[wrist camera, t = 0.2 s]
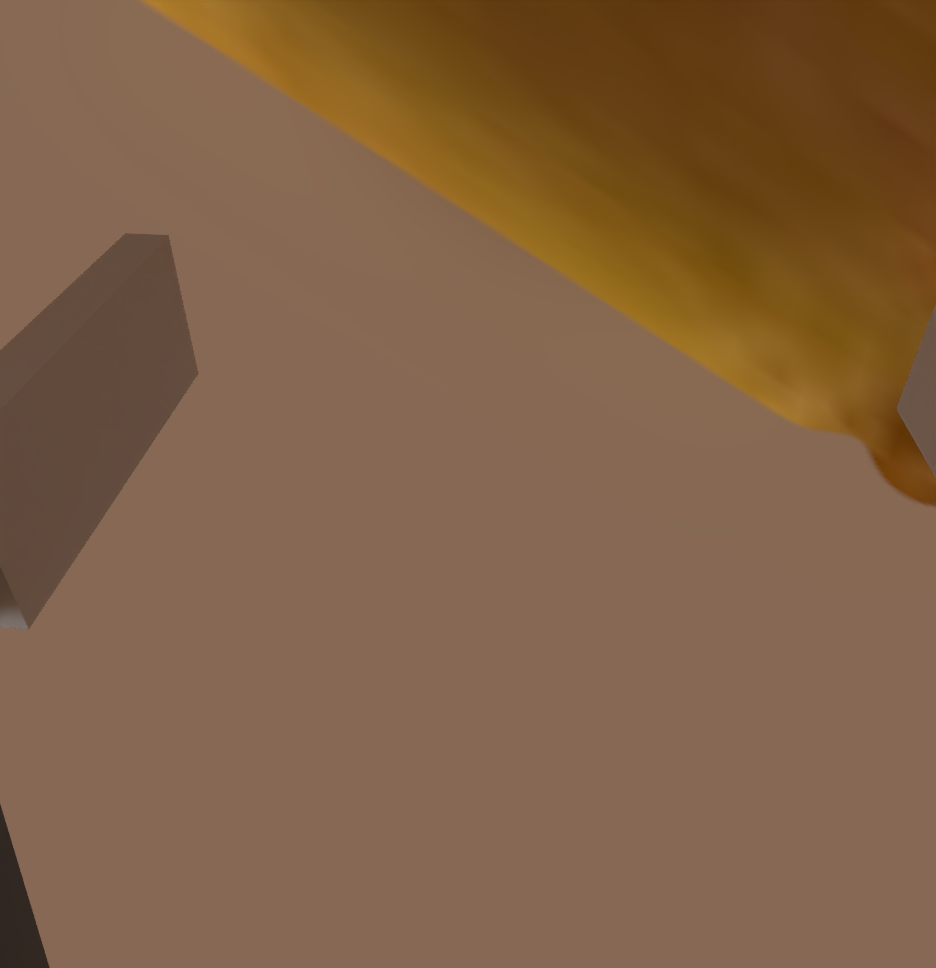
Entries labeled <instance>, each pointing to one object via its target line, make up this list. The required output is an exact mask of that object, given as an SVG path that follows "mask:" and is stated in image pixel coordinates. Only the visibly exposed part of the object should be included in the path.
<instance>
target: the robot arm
mask: <svg viewBox="0 0 936 968" xmlns="http://www.w3.org/2000/svg"><path fill="white" fill-rule="evenodd" d="M197 375H198V370H197V365H196V361H195V356H194V351H193V346H192V342H191V337H190V333H189V328H188V323H187V319H186V314H185V310H184V305H183V300H182V296H181V291H180V286H179V282H178V278H177V273H176V268H175V263H174V259H173V254H172V249H171V245H170V240H169V236H168V235H151V234H150V235H149V234H125V235H123V236H122V237H121V238H120V239H119V240H118V241H117V242H116V243H115V244H114V245H113V246H112V247H111V248H110V249H109V250H107V251H106V252H105V253H104V254H103V255H102V256H101V257H100V258H99V259H98V260H97V261H96V262H94V263H93V264H92V265H91V266H90V267H89V268H88V269H87V270H86V271H85V272H84V273H83V274H82V275H81V276H80V277H78V278H77V279H76V280H75V281H74V282H73V283H72V284H71V285H70V286H69V287H68V288H67V289H66V290H64V291H63V293H61V294H60V295H59V296H58V297H57V298H56V299H55V300H54V301H53V302H52V303H51V304H49V305H48V306H47V307H46V308H45V309H44V310H43V311H42V312H41V313H40V314H39V315H38V316H37V317H36V318H35V319H33V320H32V321H31V322H30V323H29V324H28V325H27V326H26V327H25V328H24V329H23V330H22V331H21V332H19V333H18V334H17V335H16V336H15V337H14V338H13V339H12V340H11V341H10V342H9V343H8V344H7V345H6V346H4V347H3V348H2V349H1V350H0V627H5V628H19V629H29V628H30V627H31V625H32V624H33V622H34V621H35V619H36V618H37V616H38V615H39V613H40V612H41V610H42V609H43V607H44V606H45V604H46V602H47V601H48V599H49V598H50V596H51V595H52V593H53V592H54V590H55V589H56V587H57V586H58V584H59V583H60V581H61V579H62V578H63V577H64V575H65V574H66V572H67V571H68V569H69V568H70V566H71V565H72V563H73V562H74V560H75V559H76V557H77V556H78V554H79V553H80V551H81V550H82V548H83V547H84V545H85V544H86V542H87V541H88V539H89V538H90V536H91V535H92V533H93V532H94V530H95V529H96V527H97V526H98V524H99V522H100V521H101V520H102V518H103V517H104V515H105V513H106V512H107V510H108V509H109V508H110V506H111V504H112V503H113V501H114V500H115V498H116V497H117V495H118V494H119V492H120V491H121V489H122V488H123V486H124V485H125V483H126V482H127V480H128V479H129V477H130V476H131V474H132V473H133V471H134V469H135V468H136V467H137V465H138V464H139V462H140V461H141V459H142V458H143V456H144V455H145V453H146V451H147V450H148V449H149V447H150V446H151V444H152V442H153V441H154V440H155V438H156V437H157V435H158V433H159V432H160V431H161V429H162V428H163V426H164V424H165V423H166V422H167V420H168V419H169V417H170V415H171V414H172V412H173V411H174V409H175V408H176V406H177V405H178V403H179V402H180V400H181V399H182V397H183V396H184V394H185V393H186V391H187V390H188V388H189V387H190V385H191V384H192V382H193V381H194V379H195V378H196V376H197ZM896 409H897V411H898V413H899V415H900V416H901V418H902V420H903V422H904V423H905V425H906V427H907V428H908V430H909V432H910V434H911V435H912V437H913V439H914V441H915V442H916V444H917V446H918V447H919V449H920V451H921V453H922V454H923V456H924V458H925V460H926V461H927V463H928V465H929V466H930V468H931V470H932V472H933V473H934V475H935V477H936V304H935V307H934V310H933V312H932V315H931V318H930V320H929V323H928V326H927V328H926V331H925V334H924V336H923V339H922V342H921V344H920V347H919V350H918V352H917V355H916V358H915V360H914V363H913V366H912V368H911V371H910V374H909V376H908V379H907V382H906V384H905V387H904V390H903V392H902V395H901V398H900V400H899V403H898V406H897V408H896ZM0 968H49V965H48V962H47V958H46V955H45V951H44V948H43V945H42V941H41V938H40V935H39V931H38V928H37V925H36V922H35V918H34V915H33V912H32V908H31V905H30V901H29V898H28V895H27V892H26V888H25V885H24V882H23V878H22V875H21V872H20V868H19V865H18V862H17V858H16V855H15V852H14V848H13V845H12V842H11V838H10V835H9V832H8V828H7V825H6V822H5V819H4V815H3V812H2V809H1V805H0Z"/></svg>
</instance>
